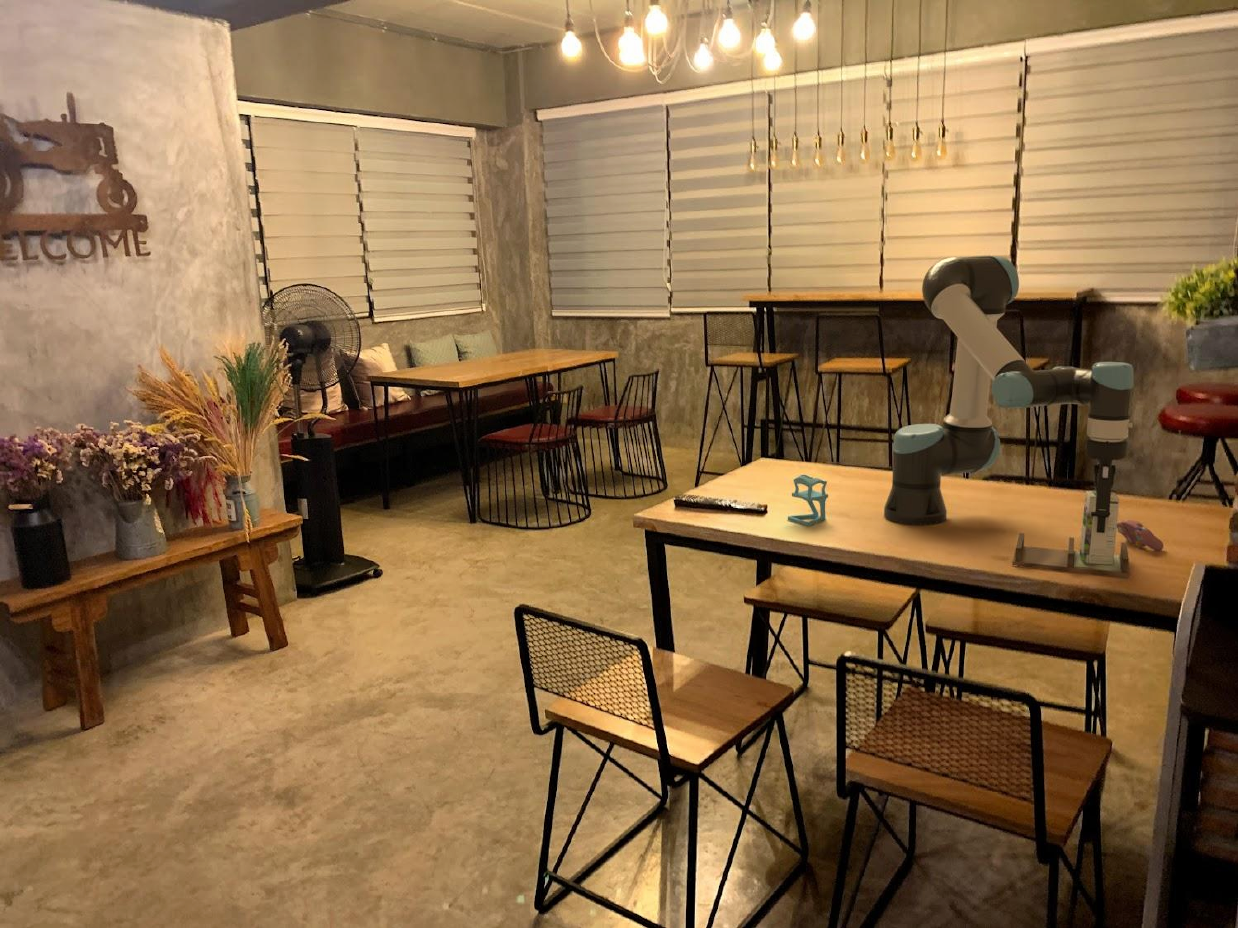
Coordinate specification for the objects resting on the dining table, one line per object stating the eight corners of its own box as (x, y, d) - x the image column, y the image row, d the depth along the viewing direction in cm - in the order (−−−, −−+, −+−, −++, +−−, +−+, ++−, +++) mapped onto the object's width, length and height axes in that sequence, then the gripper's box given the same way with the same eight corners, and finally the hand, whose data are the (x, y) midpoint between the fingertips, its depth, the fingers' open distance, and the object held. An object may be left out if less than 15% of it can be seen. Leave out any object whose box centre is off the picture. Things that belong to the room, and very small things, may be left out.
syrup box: (1078, 555, 196) (1083, 490, 193) (1109, 557, 195) (1114, 491, 191) (1083, 563, 191) (1088, 496, 188) (1114, 565, 189) (1120, 498, 186)
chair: (832, 521, 232) (833, 475, 229) (807, 526, 228) (808, 479, 225) (811, 514, 238) (812, 470, 236) (787, 519, 234) (787, 474, 232)
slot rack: (1012, 565, 195) (1013, 547, 194) (1016, 549, 205) (1017, 532, 204) (1129, 578, 185) (1131, 559, 184) (1127, 560, 196) (1129, 542, 195)
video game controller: (1120, 545, 211) (1109, 520, 209) (1137, 536, 211) (1127, 510, 209) (1148, 559, 201) (1138, 532, 199) (1167, 549, 201) (1156, 522, 199)
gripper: (1130, 451, 175) (1120, 557, 179) (1125, 428, 196) (1117, 523, 201) (1086, 448, 178) (1078, 552, 182) (1086, 427, 200) (1079, 520, 204)
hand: (1098, 537), depth 192 cm, fingers open, 13 cm apart
